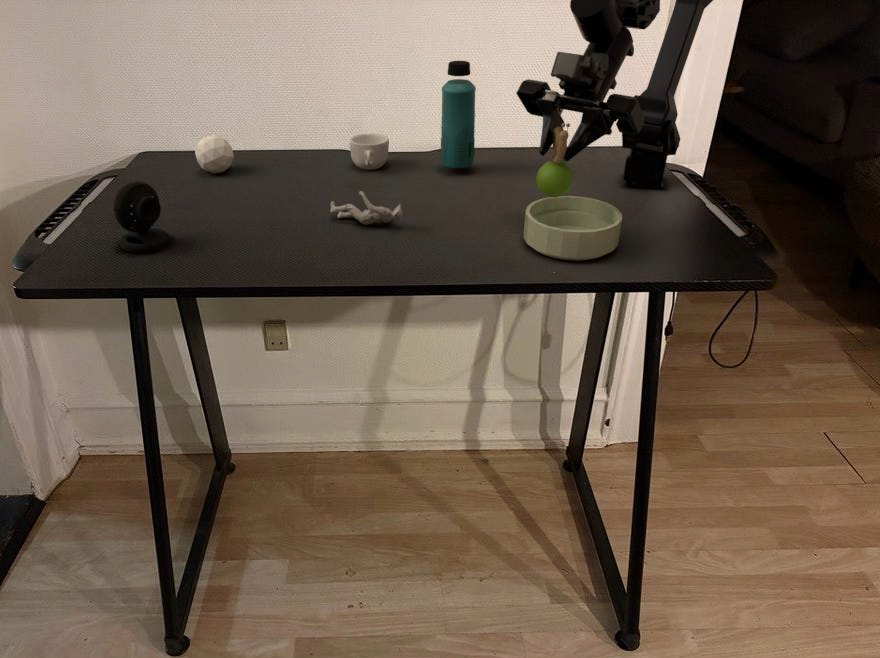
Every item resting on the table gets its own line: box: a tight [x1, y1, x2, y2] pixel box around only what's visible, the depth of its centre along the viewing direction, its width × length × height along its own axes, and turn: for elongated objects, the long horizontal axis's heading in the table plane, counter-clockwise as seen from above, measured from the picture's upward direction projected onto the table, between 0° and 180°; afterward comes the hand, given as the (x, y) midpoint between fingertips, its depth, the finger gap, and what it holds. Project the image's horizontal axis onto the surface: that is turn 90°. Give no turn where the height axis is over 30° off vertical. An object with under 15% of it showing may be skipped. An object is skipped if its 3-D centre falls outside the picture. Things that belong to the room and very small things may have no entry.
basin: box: [523, 195, 623, 261], centre depth 111 cm, size 14×14×5 cm
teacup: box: [349, 132, 390, 171], centre depth 142 cm, size 10×8×5 cm
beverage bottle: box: [440, 60, 477, 169], centre depth 136 cm, size 6×7×20 cm
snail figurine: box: [535, 122, 574, 198], centre depth 107 cm, size 5×6×12 cm
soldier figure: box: [330, 190, 403, 226], centre depth 119 cm, size 8×5×12 cm
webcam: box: [113, 180, 170, 254], centre depth 111 cm, size 8×8×10 cm
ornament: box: [194, 132, 235, 175], centre depth 141 cm, size 7×7×8 cm
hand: (553, 157), depth 106 cm, fingers closed on snail figurine, 4 cm apart
